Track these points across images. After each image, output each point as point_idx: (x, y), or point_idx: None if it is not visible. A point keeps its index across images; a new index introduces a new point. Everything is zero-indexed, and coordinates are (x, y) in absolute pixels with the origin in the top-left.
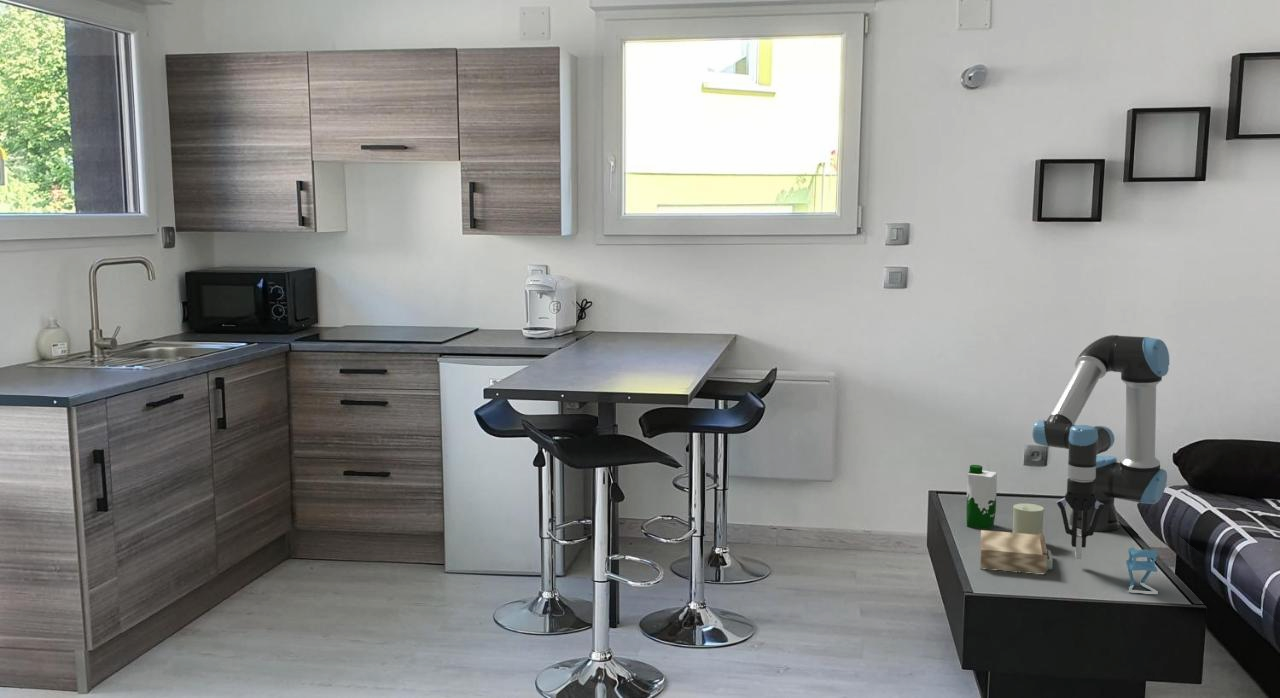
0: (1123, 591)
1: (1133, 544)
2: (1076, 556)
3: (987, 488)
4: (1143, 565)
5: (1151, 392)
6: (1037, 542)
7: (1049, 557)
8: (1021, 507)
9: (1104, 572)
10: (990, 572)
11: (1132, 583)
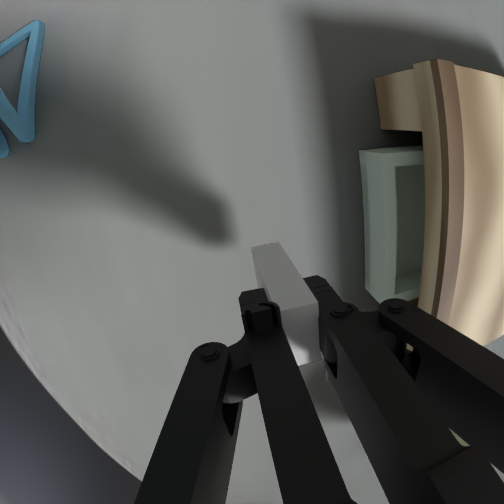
0: (58, 27)
1: None
2: (277, 247)
3: (500, 474)
4: None
5: None
6: (460, 271)
7: (394, 201)
8: None
9: (142, 235)
10: (501, 72)
11: (21, 104)
